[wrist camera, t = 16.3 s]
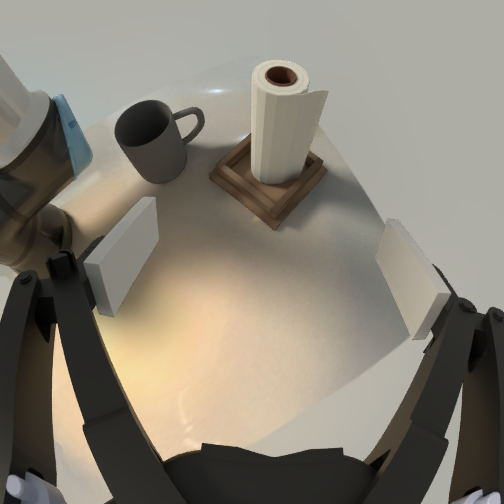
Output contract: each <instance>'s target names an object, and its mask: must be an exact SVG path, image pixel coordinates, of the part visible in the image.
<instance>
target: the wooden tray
mask: <svg viewBox="0 0 504 504" xmlns="http://www.w3.org/2000/svg"><path fill="white" fill-rule="evenodd" d="M322 164H323V160H321V159H320V158H319V157H317V156H316V155H315V154H313V153H312V152H311V151H309V152H308V155H307V157H306V160H305V163H304V166H303V169H302V172H301V175H300V178H295V179H290V180H288V181H286V182H284V183H282V184H264V183H261V182H259V181H258V180H257V179H256V178H254V176H253V174H252V172H251V133H250V134H249V135H248V136H247V137H246V138H245V139H244V140H242V141H241V142H240V143H239V144H238V145H237V146H236V147H235V148H234V149H232V150H231V151H230V152H229V153H228V154H227V155H226V156H225V157H224V158H223V159H222V160H221V161H219V162H218V163H217V164H216V168H215V169H214V170H213V171H212V172H211V173H210V174H209V177H210V178H211V179H212V180H213V181H215V182H216V183H217V184H218V185H220V186H221V187H222V188H223V189H225V190H226V191H227V192H228V193H230V194H231V195H232V196H233V197H234V198H236V199H237V200H238V201H239V202H241V203H242V204H243V205H244V206H245V207H247V208H248V209H249V210H250V211H252V212H253V213H254V214H255V215H256V216H258V217H259V218H260V219H261V220H262V221H264V222H265V223H266V224H267V225H268V226H270V227H271V228H272V229H273V230H275V229H276V228H277V227H278V226H279V225H280V224H281V222H282V221H283V220H284V219H285V218H286V217H287V216H288V215H289V214H290V212H291V211H292V210H293V209H294V208H295V207H296V206H297V205H298V204H299V202H300V201H301V200H302V199H303V198H304V197H305V196H306V195H307V194H308V192H309V191H310V190H311V189H312V188H313V187H314V186H315V185H316V184H317V182H318V181H319V180H320V179H321V178H322V177H323V176H324V175H325V173H326V172H327V169H326V168H324V167H323V166H322Z"/></svg>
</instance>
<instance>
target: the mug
mask: <svg viewBox="0 0 504 504" xmlns="http://www.w3.org/2000/svg"><path fill="white" fill-rule="evenodd" d="M190 114H195V115H196V116H197V119H198V123H197V125H196V126H195V128H194V129H193V130H192V132H191V133H190V134H189V135H188V136H186V137H185V138H183V139H182V138H181V135H180V133H179V130H178V127H177V124H176V122H175V120H177V119H180V118H182V117H184V116H187V115H190ZM204 123H205V119H204V114H203V112H202V110H201V109H199V108H197V107H191V108H188V109H185V110H182V111H179V112H177V113H175V114H172V112H171V110H170V108H169V107H168V106H167V105H166V104H165V103H163V102H161V101H157V100H146V101H142V102H139V103H137V104H135V105H133V106H131V107H130V108H128V109H127V110H126V111H125V112H124V113H123V114H122V115H121V116H120V117H119V119H118V121H117V123H116V125H115V138H116V140H117V142H118V144H119V145H120V147H121V149H122V150H123V152H124V153H125V154H126V156H127V157H128V159H129V160H130V162H131V163H132V164H133V166H134V167H135V168H136V170H137V171H138V172H139V174H140V175H141V176H142V177H143V178H144V179H145V180H147V181H149V182H152V183H164V182H168V181H170V180H172V179H174V178H175V177H176V176H178V175H179V174H180V172H181V171H182V170H183V168H184V166H185V163H186V151H185V147H184V145H185V144H187V143H189V142H190V141H192V140H193V139H194V138H195V137H196V136H197V135H198V133H199V132H200V131H201V130H202V128H203V126H204Z"/></svg>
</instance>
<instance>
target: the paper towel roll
mask: <svg viewBox="0 0 504 504" xmlns="http://www.w3.org/2000/svg"><path fill="white" fill-rule="evenodd" d="M309 83H310V81H309V77H308V74H307V72H306V71H305V70H304V69H303V68H302V67H300V66H299V65H297V64H295V63H293V62H289V61H286V60H270V61H265V62H263V63H261V64H259V65H258V66H256V68H255V69H254V71H253V72H252V116H251V172H252V174H253V176H254V178H256V179H257V180H258V181H259V182H261V183H264V184H282V183H284V182H286V181H288V180H290V179H295V178H300V175H301V172H302V169H303V166H304V163H305V160H306V157H307V155H308V152H309V149H310V146H311V143H312V140H313V137H314V134H315V131H316V128H317V125H318V122H319V119H320V116H321V113H322V110H323V107H324V104H325V101H326V98H327V95H328V92H329V90H314V91H311V92H308V93H307V91H308V87H309Z"/></svg>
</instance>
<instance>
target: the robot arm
mask: <svg viewBox="0 0 504 504" xmlns="http://www.w3.org/2000/svg"><path fill="white" fill-rule="evenodd" d="M92 157H93V153H92V150H91V148H90V146H89V144H88V142H87V140H86V138H85V136H84V134H83V132H82V130H81V129H80V127H79V125H78V123H77V121H76V119H75V117H74V115H73V113H72V111H71V109H70V107H69V105H68V103H67V101H66V99H65V97H64V95H63V94H60V95H58V96H55V97H53V99H52V100H51V98H50V97H49V96H48V94H47V93H45V92H44V91H41V90H39V91H32V92H29V91H28V90H27V89H26V87H25V86H24V85H23V84H22V83H21V81H20V80H19V78H18V77H17V76H16V75H15V73H14V72H13V71H12V69H11V68H10V67H9V66H8V64H7V63H6V62H5V60H4V59H3V58H2V56H1V55H0V264H3V265H6V266H9V267H10V268H11V269H12V270H13V271H15V272H16V273H17V274H18V276H17V277H16V278H15V280H14V282H13V284H12V287H11V290H10V293H9V296H8V299H7V302H6V305H5V308H4V311H3V314H2V318H1V321H0V504H67V503H66V502H65V500H64V497H63V495H62V493H61V492H60V491H59V490H58V489H57V488H56V486H57V484H56V483H57V482H56V481H57V480H56V479H57V473H56V460H55V452H54V439H53V424H52V368H53V351H54V340H55V330H56V323H58V328H59V333H60V338H61V343H62V347H63V351H64V356H65V360H66V364H67V367H68V371H69V375H70V378H71V382H72V385H73V389H74V392H75V395H76V398H77V401H78V404H79V407H80V410H81V413H82V416H83V419H84V423H85V424H84V425H82V426H83V432H84V435H85V437H86V440H87V443H88V445H89V447H90V450H91V452H92V454H93V457H94V459H95V461H96V463H97V466H98V468H99V470H100V472H101V474H102V476H103V478H104V480H105V482H106V484H107V486H108V488H109V490H110V492H111V494H112V496H113V497H114V498H112V499H111V500H109V501H108V502H106V503H104V504H421V502H422V500H423V498H424V496H425V494H426V493H427V491H428V489H429V487H430V485H431V483H432V481H433V479H434V477H435V475H436V473H437V471H438V468H439V466H440V464H441V462H442V460H443V457H444V455H445V452H446V450H447V447H448V444H449V442H448V439H446V438H444V436H445V433H446V430H447V428H448V425H449V423H450V420H451V417H452V414H453V411H454V408H455V405H456V402H457V399H458V396H459V393H460V389H461V386H462V382H463V390H462V391H463V392H462V409H461V422H460V432H459V440H458V447H457V454H456V460H455V465H454V471H453V476H452V481H451V486H450V492H449V502H448V504H504V312H503V311H501V310H500V309H498V308H495V307H491V308H489V310H488V312H487V313H486V315H485V314H481V313H477V309H476V308H475V306H474V305H473V304H472V303H471V302H470V301H469V300H467V299H465V298H460V297H458V296H457V294H456V293H455V291H454V290H453V288H452V287H451V285H450V284H449V283H448V281H447V279H446V278H444V275H443V273H442V272H441V271H440V270H439V269H438V268H437V267H436V266H434V264H431V263H430V261H429V260H428V258H427V257H426V255H425V254H424V253H423V251H422V250H421V249H420V247H419V246H418V245H417V243H416V242H415V241H414V239H413V238H412V237H411V236H410V234H409V233H408V232H407V230H406V229H405V228H404V227H403V225H402V224H401V223H400V222H399V220H394V219H387V221H386V224H385V228H384V231H383V235H382V238H381V241H380V244H379V248H378V251H377V254H376V257H375V260H376V262H377V264H378V266H379V268H380V270H381V272H382V274H383V276H384V278H385V280H386V282H387V284H388V286H389V289H390V291H391V293H392V295H393V297H394V299H395V302H396V304H397V306H398V308H399V310H400V313H401V315H402V317H403V320H404V322H405V324H406V327H407V329H408V331H409V334H410V336H411V339H412V340H419V339H420V340H421V339H425V338H426V337H427V335H428V333H429V332H430V330H432V333H433V335H434V336H433V338H432V340H431V341H430V343H429V344H428V346H427V347H426V349H425V350H424V352H423V353H425V355H424V357H423V360H422V362H421V364H420V366H419V368H418V371H417V373H416V375H415V377H414V379H413V381H412V383H411V385H410V387H409V389H408V391H407V393H406V395H405V397H404V399H403V401H402V403H401V404H400V406H399V408H398V410H397V412H396V413H395V415H394V417H393V419H392V420H391V422H390V424H389V425H388V427H387V429H386V430H385V432H384V434H383V435H382V437H381V439H380V440H379V442H378V443H377V445H376V446H375V448H374V449H373V451H372V452H371V453H370V455H369V456H368V457H367V458H366V459H365V460H364V461H363V462H362V461H360V460H358V459H356V458H353V457H349V456H345V455H343V448H328V449H310V450H305V451H302V452H297V453H293V454H289V455H284V456H279V457H270V456H266V455H263V454H259V453H255V452H252V451H249V450H245V449H242V448H239V447H232V446H223V445H214V444H207V443H202V447H201V450H195V451H190V452H185V453H182V454H178V455H176V456H174V457H171V458H169V459H168V460H166V461H163V460H162V458H161V456H160V455H159V453H158V452H157V450H156V449H155V447H154V445H153V444H152V442H151V440H150V439H149V437H148V435H147V434H146V432H145V430H144V428H143V426H142V424H141V423H140V421H139V419H138V417H137V415H136V413H135V411H134V409H133V407H132V405H131V403H130V401H129V399H128V397H127V395H126V393H125V391H124V389H123V387H122V385H121V382H120V380H119V378H118V376H117V373H116V371H115V369H114V367H113V364H112V362H111V359H110V357H109V355H108V352H107V350H106V347H105V344H104V342H103V339H102V337H101V334H100V331H99V328H98V326H97V323H96V320H95V317H94V314H93V312H92V310H93V309H94V307H95V305H96V306H97V308H98V311H99V314H101V315H106V316H111V317H114V316H115V315H116V313H117V311H118V309H119V307H120V305H121V304H122V302H123V300H124V298H125V296H126V295H127V293H128V291H129V289H130V288H131V286H132V284H133V282H134V281H135V279H136V277H137V276H138V274H139V272H140V271H141V269H142V267H143V265H144V264H145V262H146V260H147V259H148V257H149V256H150V254H151V252H152V251H153V249H154V247H155V246H156V244H157V243H158V241H159V233H158V222H157V211H156V197H142V198H141V199H140V200H139V201H138V202H137V203H136V204H135V205H134V206H133V207H132V208H131V209H130V211H129V212H128V213H127V214H126V215H125V216H124V217H123V218H122V219H121V220H120V221H119V222H118V223H117V224H116V225H115V227H114V228H113V229H112V230H111V231H110V232H109V233H108V234H107V235H106V236H101V237H99V238H97V239H96V240H94V241H93V242H92V243H91V244H90V245H89V248H87V249H86V250H85V251H84V252H83V253H82V254H81V256H80V257H79V258H78V259H77V260H76V259H75V256H74V253H73V251H72V250H70V249H71V243H72V230H71V225H70V222H69V219H68V217H67V216H66V214H65V213H64V212H63V211H62V210H61V209H59V208H57V207H56V206H54V205H52V204H49V202H50V201H51V200H52V199H53V198H54V197H55V196H56V195H58V194H59V193H60V192H61V191H62V190H63V189H64V188H65V187H67V186H68V185H69V184H70V183H71V182H72V181H74V180H76V179H77V176H78V175H79V174H80V173H81V172H83V171H84V170H85V169H86V168H87V167H88V166H89V165H90V163H91V161H92Z"/></svg>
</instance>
